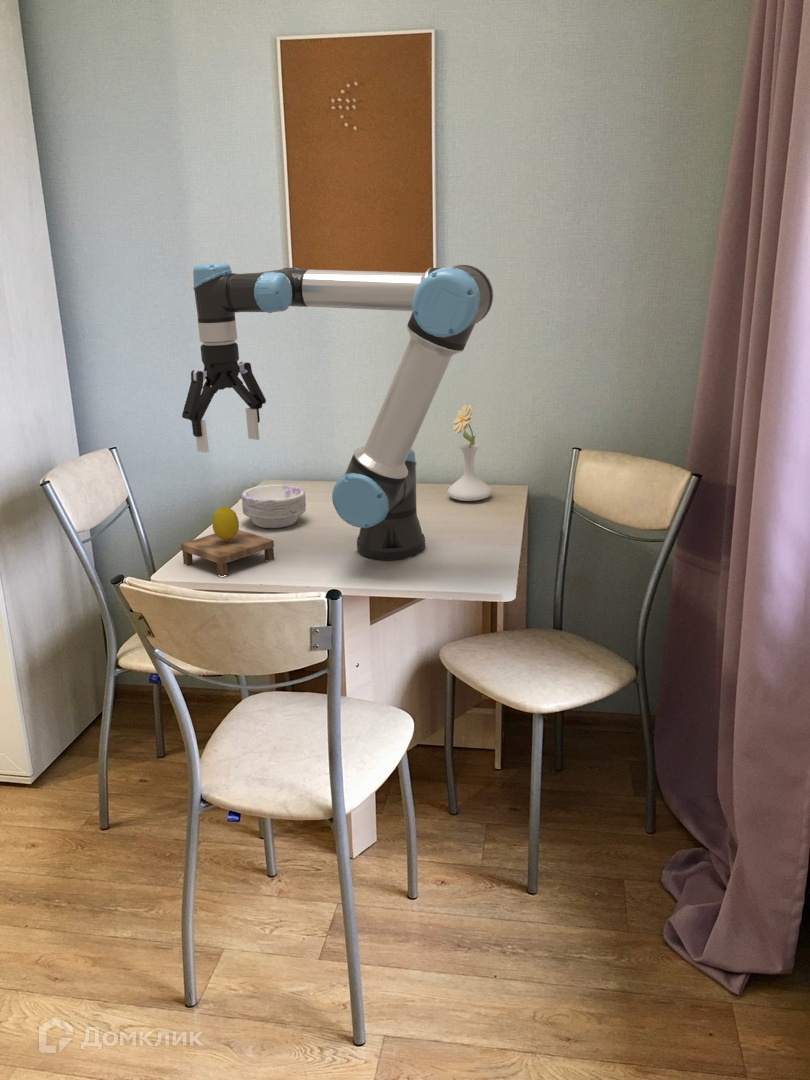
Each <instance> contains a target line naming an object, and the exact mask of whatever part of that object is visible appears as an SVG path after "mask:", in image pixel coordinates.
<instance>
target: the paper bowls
mask: <svg viewBox="0 0 810 1080" xmlns="http://www.w3.org/2000/svg"><path fill="white" fill-rule="evenodd" d="M306 500H307V499H306V491H305V489H303V488H301V487H299V486H296V485H290V484H264V485H258V486H254V487H250V488H247V489H245V490H244V491H242V493H241V506H242V513H243V515H244V516H246V517H249V518H250V519H251V521H252V522H253V524H254V525H255V526H257V527H260V528H263V529H264V528H265V529H281V528H285V527H290V526H293V524H295V523H296V522H297V521H298V519H299V516H302V515H303V514H304V513H305V512H306V511H307V509H306V508H307V507H306V506H307V503H306V502H307V501H306Z"/></svg>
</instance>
